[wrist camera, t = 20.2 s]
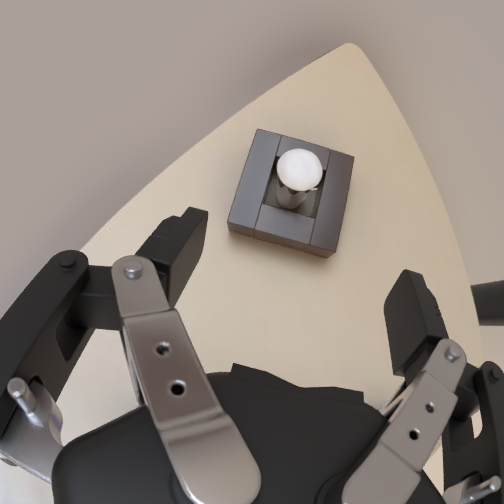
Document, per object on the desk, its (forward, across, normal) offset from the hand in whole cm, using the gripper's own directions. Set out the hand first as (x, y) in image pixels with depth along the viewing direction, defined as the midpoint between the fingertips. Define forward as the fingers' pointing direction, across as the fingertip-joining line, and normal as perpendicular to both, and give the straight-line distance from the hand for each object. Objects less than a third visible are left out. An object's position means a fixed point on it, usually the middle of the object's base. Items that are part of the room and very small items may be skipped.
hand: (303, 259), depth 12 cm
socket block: (+26, 0, +9) cm, 27 cm away
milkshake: (+26, 0, +9) cm, 27 cm away
